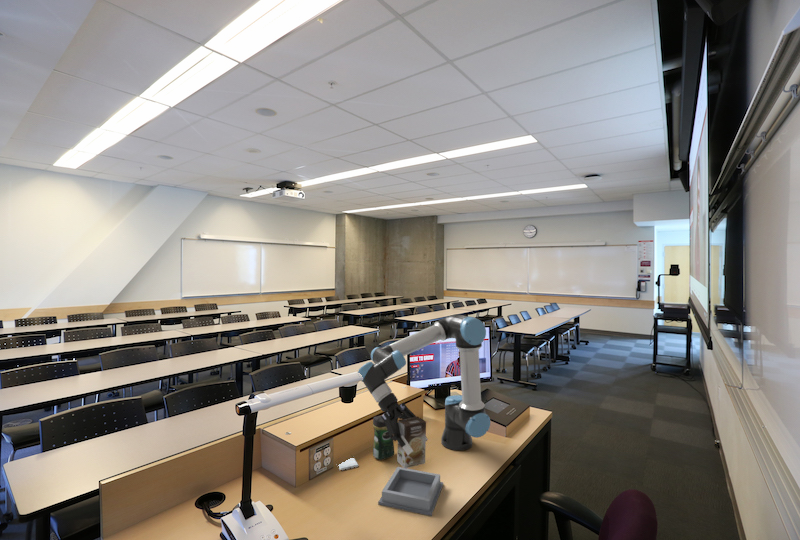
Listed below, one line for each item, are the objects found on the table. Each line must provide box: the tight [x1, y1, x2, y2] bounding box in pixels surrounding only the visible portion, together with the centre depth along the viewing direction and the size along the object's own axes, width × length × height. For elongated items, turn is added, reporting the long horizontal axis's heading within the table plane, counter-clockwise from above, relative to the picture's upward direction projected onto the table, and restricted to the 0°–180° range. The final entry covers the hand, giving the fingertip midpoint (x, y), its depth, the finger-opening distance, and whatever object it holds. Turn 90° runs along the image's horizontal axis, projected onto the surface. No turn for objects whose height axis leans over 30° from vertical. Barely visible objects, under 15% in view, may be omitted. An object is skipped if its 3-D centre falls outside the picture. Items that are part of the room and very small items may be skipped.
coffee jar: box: [372, 414, 395, 460], centre depth 174 cm, size 10×8×19 cm
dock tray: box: [377, 466, 444, 517], centre depth 145 cm, size 20×20×4 cm
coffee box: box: [396, 416, 427, 469], centre depth 144 cm, size 9×6×16 cm
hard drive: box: [337, 457, 359, 471], centre depth 168 cm, size 2×8×12 cm
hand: (418, 447), depth 143 cm, fingers closed on coffee box, 10 cm apart
